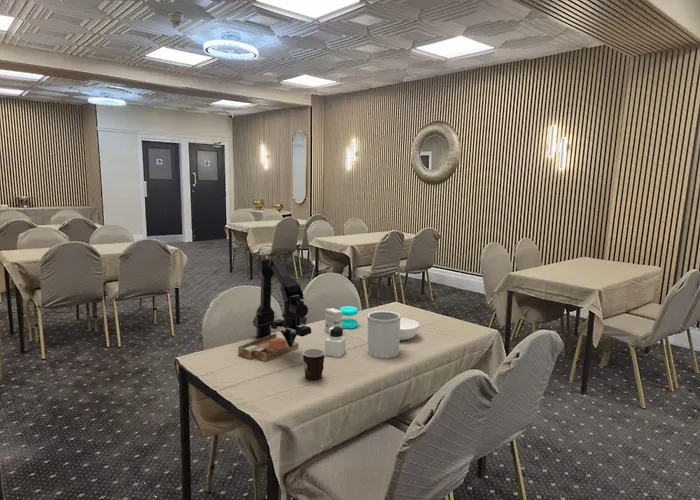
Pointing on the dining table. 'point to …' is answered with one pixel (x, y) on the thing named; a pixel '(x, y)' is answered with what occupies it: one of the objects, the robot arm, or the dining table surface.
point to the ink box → (332, 318)
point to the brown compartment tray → (263, 349)
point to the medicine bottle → (335, 342)
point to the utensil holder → (383, 334)
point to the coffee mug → (313, 363)
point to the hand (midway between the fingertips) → (290, 346)
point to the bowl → (408, 328)
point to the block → (277, 343)
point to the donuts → (349, 322)
